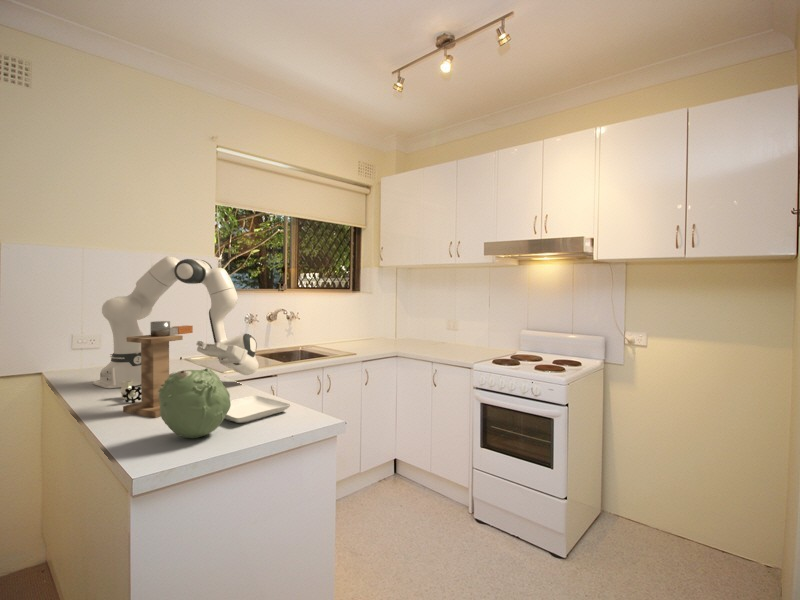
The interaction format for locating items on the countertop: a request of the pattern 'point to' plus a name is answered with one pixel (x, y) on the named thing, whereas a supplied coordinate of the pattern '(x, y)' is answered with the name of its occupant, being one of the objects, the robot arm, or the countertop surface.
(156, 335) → the valve lever
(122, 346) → the robot arm
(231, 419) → the salad plate
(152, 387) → the stand
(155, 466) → the countertop surface
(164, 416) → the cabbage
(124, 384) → the valve
